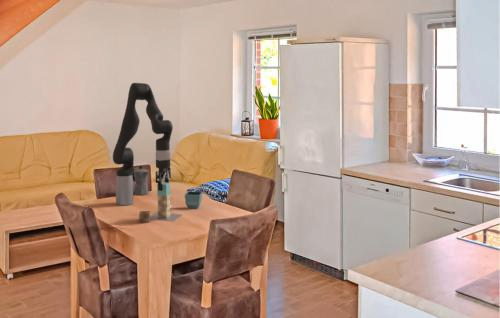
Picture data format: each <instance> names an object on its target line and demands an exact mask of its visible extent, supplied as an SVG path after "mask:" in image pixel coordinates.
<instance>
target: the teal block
mask: <svg viewBox="0 0 500 318" xmlns="http://www.w3.org/2000/svg"><path fill="white" fill-rule="evenodd" d="M162 187H163V190H162V191H159V190H158V183H156V188H157V190H156V191H157V194H156V195H157V196H158V195H159V196H167V195H169V194H170V195H171V183H170V182H169V183H165V181H164V182H162Z"/></svg>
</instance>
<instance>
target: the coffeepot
mask: <svg viewBox="0 0 500 318" xmlns="http://www.w3.org/2000/svg"><path fill="white" fill-rule="evenodd" d="M148 176H149V170H148V169H145V168H144V169H143V166H142V165H141V166H139V169H138V168H133V182H135V185H134V189H133V195H135V196H146V195H149V193H150V192H149V187H148V183H147V181H148V178H149V177H148Z"/></svg>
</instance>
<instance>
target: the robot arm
mask: <svg viewBox="0 0 500 318" xmlns="http://www.w3.org/2000/svg"><path fill="white" fill-rule="evenodd" d="M126 101H127V102H126V107H125V112H124V115H123V119H122V121H121V122H122V123H121V127H120V130H119V135H118V137H117V141H116V144H115V146H114V149H113V152H112V161H113V163H114V164H116V165H122V166H121V167H120V168H118V169H117V170H116V172H115V173H116V175H115V176H116V188H115V205H119V206H131V205H134V181H133V169H134V158H135V157H134V156H135V155H134V152H133V149H132V148H131V147H127V145H128V144H129V142H131V140H133V138H134V137H135V136H136V134H137V132H138V129H139V126H140V117H139V115H138V112H137V110H136V104H137V103H136V102H137V101H146V102H147V105H146V107H145V112H146V115H147V117H148V119H149V120H150V125H151V130H152V132H153V133H154V134H156V135H162V137H159V138H157V139H156V140H155V168H156V169H158V171H155V183H156V184H158V190H159V191H162V190H163V187H162V182H163V181H164V183H170V179H171V178H172V173H171V169H172V168H171V153H170V152H171V151H170V149H171V148H170V145H171V144H170V142H171V141H170V140H171V137H172V134H173V127H174V126H173V123H172V121H171V120H169V119H164V115H163V113H162V111H161V110H160V108H159V107H158V103H157V102H156V98H155V95H154V92H153V91H152V88H151V86H150V85H149V84H148V83H144V82H132V83H131V85H130V87H129V90H128V95H127V100H126Z"/></svg>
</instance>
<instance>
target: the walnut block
mask: <svg viewBox="0 0 500 318" xmlns="http://www.w3.org/2000/svg"><path fill="white" fill-rule="evenodd" d="M138 216H139V218H138V219H139V222H138V223H139V224H141V223H142V224H146V223H150V221H151V220H150V216H151V211H150V210H146V211H145V210H141V211H139V213H138Z"/></svg>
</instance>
